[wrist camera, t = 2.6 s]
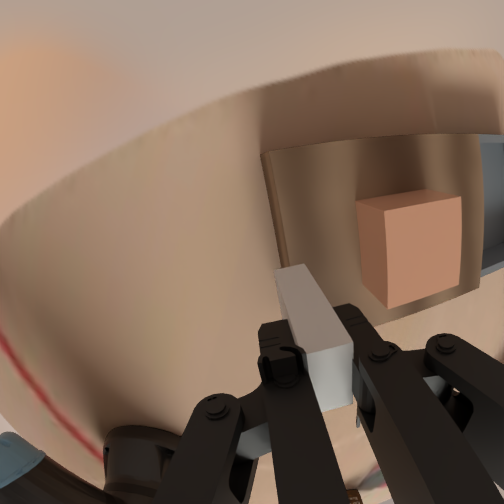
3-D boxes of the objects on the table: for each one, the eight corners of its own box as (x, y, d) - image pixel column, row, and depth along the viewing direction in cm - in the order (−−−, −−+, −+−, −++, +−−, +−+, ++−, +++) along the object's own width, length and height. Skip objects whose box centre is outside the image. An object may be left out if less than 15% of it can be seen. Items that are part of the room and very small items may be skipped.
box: (445, 266, 27) (471, 281, 22) (439, 135, 23) (468, 133, 18) (504, 245, 27) (528, 255, 22) (501, 135, 23) (527, 136, 18)
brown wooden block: (288, 309, 27) (302, 346, 21) (259, 154, 23) (268, 151, 17) (444, 266, 27) (479, 287, 21) (437, 135, 23) (478, 133, 17)
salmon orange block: (362, 284, 20) (387, 309, 16) (355, 200, 18) (383, 210, 14) (428, 265, 20) (458, 284, 16) (425, 189, 18) (460, 196, 14)
